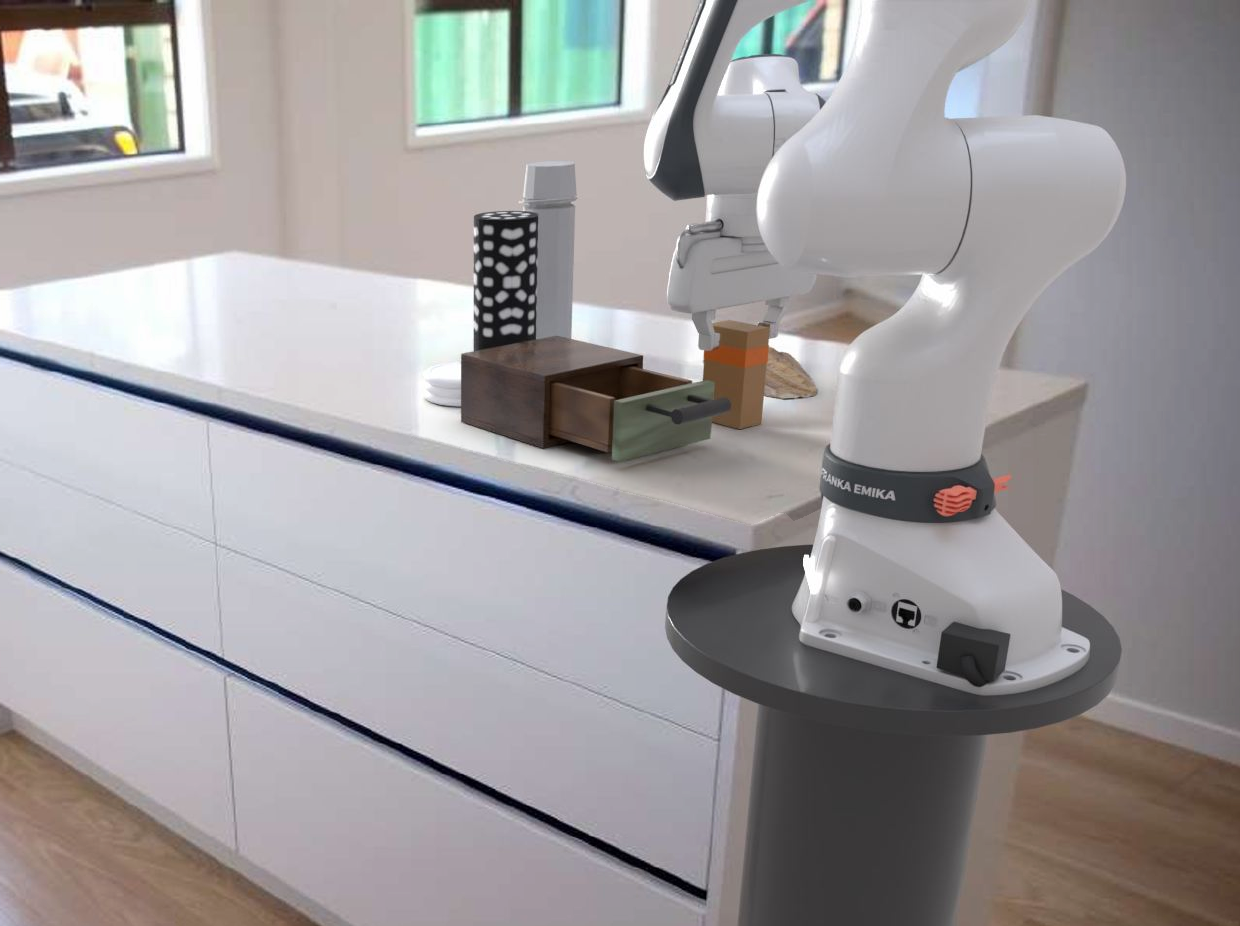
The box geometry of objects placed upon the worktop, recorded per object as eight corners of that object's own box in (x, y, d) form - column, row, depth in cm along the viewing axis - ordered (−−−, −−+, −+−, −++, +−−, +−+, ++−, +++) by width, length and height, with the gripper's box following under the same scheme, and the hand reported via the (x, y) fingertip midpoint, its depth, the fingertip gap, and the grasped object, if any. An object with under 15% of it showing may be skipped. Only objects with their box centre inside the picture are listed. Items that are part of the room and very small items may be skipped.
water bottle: (582, 349, 199) (588, 164, 189) (529, 354, 197) (533, 168, 188) (556, 336, 207) (560, 158, 197) (505, 341, 206) (507, 162, 196)
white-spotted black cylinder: (547, 364, 191) (550, 212, 183) (513, 378, 185) (515, 221, 177) (495, 358, 196) (496, 209, 188) (461, 370, 190) (461, 217, 182)
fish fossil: (850, 394, 171) (850, 385, 170) (769, 407, 170) (769, 398, 169) (757, 345, 194) (757, 337, 193) (686, 356, 193) (686, 348, 192)
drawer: (748, 449, 148) (753, 390, 146) (656, 473, 142) (660, 412, 140) (622, 414, 163) (624, 360, 161) (533, 435, 157) (534, 379, 154)
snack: (762, 424, 160) (770, 327, 156) (739, 429, 159) (747, 332, 154) (721, 413, 165) (728, 319, 161) (698, 419, 163) (705, 324, 159)
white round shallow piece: (408, 401, 176) (407, 373, 175) (453, 383, 183) (453, 357, 182) (475, 411, 170) (475, 383, 169) (519, 393, 177) (519, 366, 176)
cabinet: (640, 425, 162) (643, 355, 159) (542, 448, 155) (544, 375, 152) (554, 401, 174) (556, 335, 170) (460, 421, 167) (460, 353, 163)
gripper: (701, 227, 145) (693, 361, 150) (833, 209, 155) (821, 335, 160) (657, 223, 150) (650, 352, 155) (787, 205, 160) (777, 328, 165)
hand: (738, 343), depth 158 cm, fingers open, 8 cm apart
